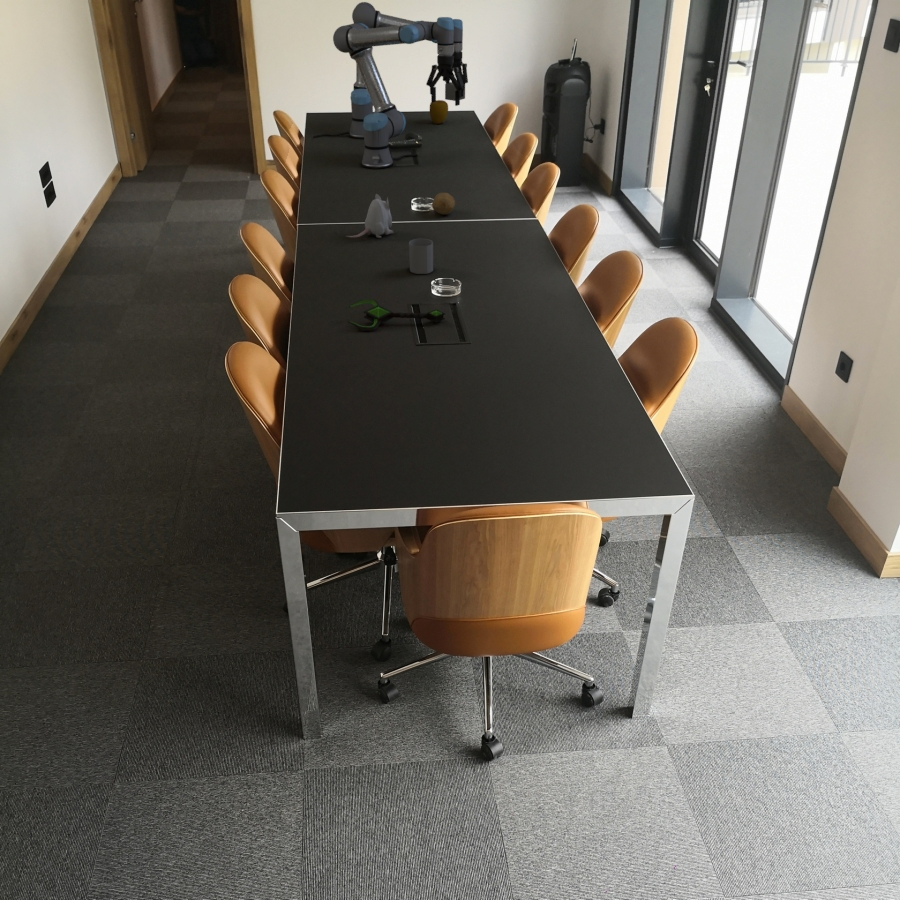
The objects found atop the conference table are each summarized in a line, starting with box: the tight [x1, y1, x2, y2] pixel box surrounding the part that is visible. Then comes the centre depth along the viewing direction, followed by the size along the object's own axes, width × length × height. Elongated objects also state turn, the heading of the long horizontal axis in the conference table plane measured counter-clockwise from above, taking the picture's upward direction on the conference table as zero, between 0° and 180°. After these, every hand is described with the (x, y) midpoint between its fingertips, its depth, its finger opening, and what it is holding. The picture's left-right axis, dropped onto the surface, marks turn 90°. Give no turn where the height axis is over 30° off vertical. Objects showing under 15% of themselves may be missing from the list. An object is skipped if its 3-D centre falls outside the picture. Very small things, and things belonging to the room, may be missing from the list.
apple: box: [429, 99, 449, 125], centre depth 502 cm, size 11×11×13 cm
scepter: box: [348, 298, 446, 331], centre depth 269 cm, size 6×13×30 cm
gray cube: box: [444, 81, 466, 102], centre depth 480 cm, size 8×8×8 cm
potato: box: [431, 192, 456, 216], centre depth 360 cm, size 10×14×8 cm
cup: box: [408, 237, 434, 275], centre depth 305 cm, size 8×8×10 cm
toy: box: [345, 193, 394, 239], centre depth 333 cm, size 9×24×15 cm, turn 137°
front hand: (445, 103), depth 410 cm, fingers open, 13 cm apart
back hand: (455, 95), depth 481 cm, fingers closed on gray cube, 8 cm apart
